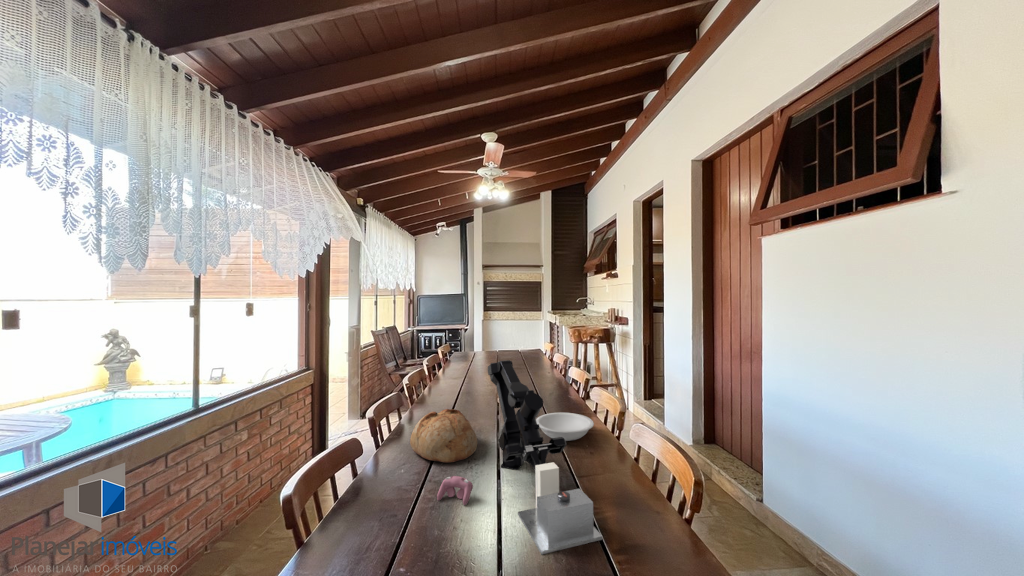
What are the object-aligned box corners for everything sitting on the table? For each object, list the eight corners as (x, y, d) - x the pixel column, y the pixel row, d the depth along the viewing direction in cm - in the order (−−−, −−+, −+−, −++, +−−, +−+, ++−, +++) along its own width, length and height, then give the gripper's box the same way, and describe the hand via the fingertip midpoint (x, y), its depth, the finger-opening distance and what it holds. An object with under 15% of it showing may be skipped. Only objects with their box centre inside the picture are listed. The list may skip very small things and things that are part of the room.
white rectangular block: (535, 507, 103) (535, 465, 104) (554, 503, 105) (553, 462, 105) (550, 528, 94) (549, 482, 94) (570, 523, 96) (569, 478, 96)
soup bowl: (599, 449, 144) (599, 431, 144) (537, 449, 144) (537, 432, 144) (588, 426, 168) (587, 412, 168) (534, 427, 168) (534, 412, 168)
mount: (517, 514, 102) (517, 476, 102) (570, 503, 107) (570, 467, 107) (541, 554, 86) (540, 509, 86) (602, 539, 91) (601, 496, 91)
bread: (488, 455, 139) (487, 415, 140) (428, 473, 126) (427, 428, 127) (457, 434, 161) (456, 399, 162) (403, 447, 148) (403, 408, 149)
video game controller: (471, 505, 109) (475, 478, 112) (465, 506, 105) (470, 478, 109) (441, 500, 112) (446, 474, 116) (434, 500, 109) (439, 473, 112)
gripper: (548, 434, 125) (563, 483, 114) (494, 442, 119) (505, 495, 108) (558, 418, 117) (575, 469, 107) (501, 425, 111) (513, 480, 101)
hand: (542, 478), depth 106 cm, fingers closed
